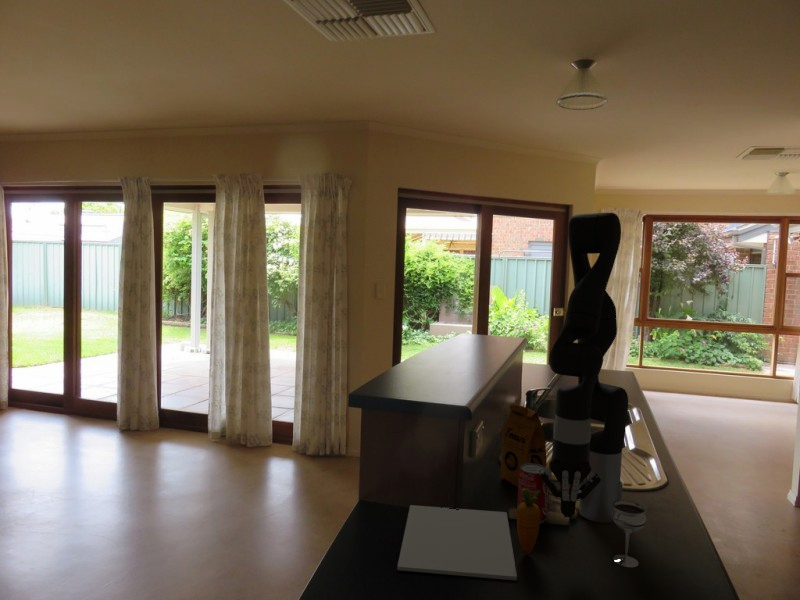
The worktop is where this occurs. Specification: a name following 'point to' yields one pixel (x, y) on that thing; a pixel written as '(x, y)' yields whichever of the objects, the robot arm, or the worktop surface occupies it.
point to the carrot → (528, 521)
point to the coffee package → (521, 442)
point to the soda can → (533, 487)
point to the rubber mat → (457, 543)
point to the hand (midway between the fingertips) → (567, 515)
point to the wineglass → (628, 525)
